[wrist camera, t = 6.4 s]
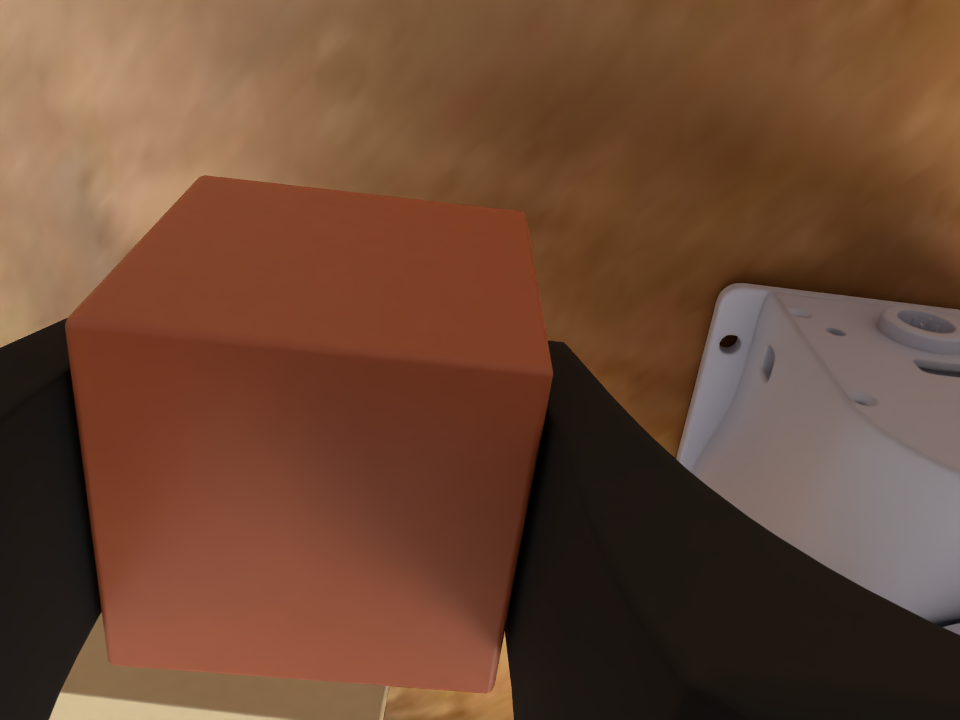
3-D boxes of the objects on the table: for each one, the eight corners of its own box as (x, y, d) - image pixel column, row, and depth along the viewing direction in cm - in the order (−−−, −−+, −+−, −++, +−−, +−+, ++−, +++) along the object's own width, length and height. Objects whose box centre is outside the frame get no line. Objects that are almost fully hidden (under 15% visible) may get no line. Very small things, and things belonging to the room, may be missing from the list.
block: (199, 172, 11) (58, 320, 7) (527, 210, 11) (555, 370, 7) (210, 444, 13) (106, 668, 9) (486, 469, 13) (492, 697, 9)
